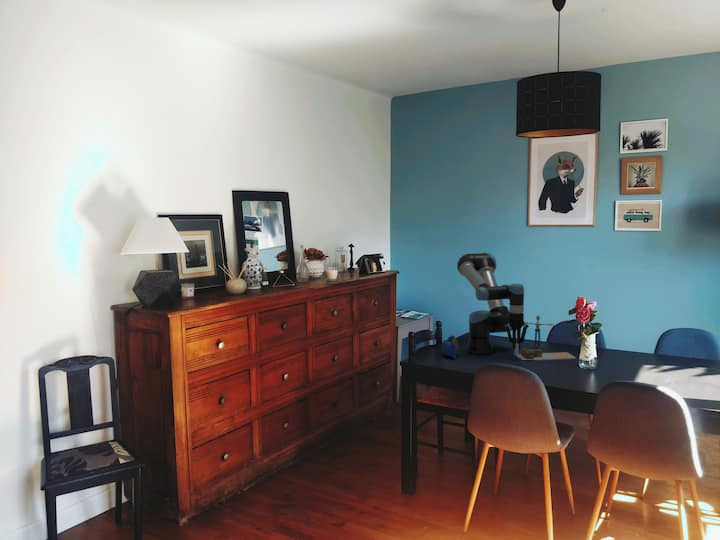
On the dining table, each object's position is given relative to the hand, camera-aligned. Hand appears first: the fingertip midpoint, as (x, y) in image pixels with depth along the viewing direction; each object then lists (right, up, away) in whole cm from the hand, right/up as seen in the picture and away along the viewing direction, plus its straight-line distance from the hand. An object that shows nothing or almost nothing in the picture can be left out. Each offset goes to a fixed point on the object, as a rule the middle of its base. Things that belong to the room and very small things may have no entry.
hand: (516, 354), depth 309 cm
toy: (-35, -2, +8) cm, 36 cm away
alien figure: (+19, +1, +22) cm, 29 cm away
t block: (+9, -1, +1) cm, 9 cm away
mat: (+16, -1, +1) cm, 16 cm away
